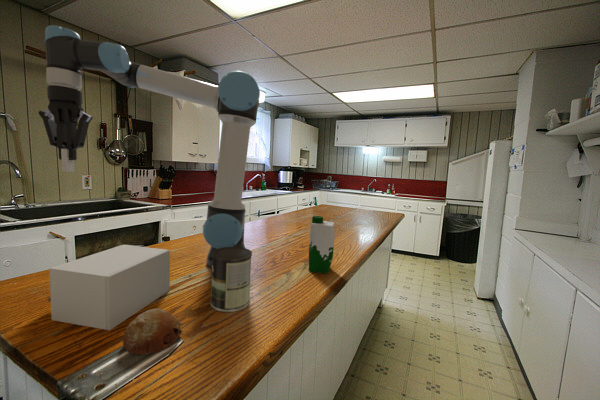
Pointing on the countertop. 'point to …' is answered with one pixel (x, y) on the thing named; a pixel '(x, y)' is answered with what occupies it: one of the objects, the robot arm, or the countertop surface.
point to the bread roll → (151, 332)
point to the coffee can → (230, 278)
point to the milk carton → (321, 245)
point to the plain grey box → (108, 285)
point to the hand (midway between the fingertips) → (68, 171)
